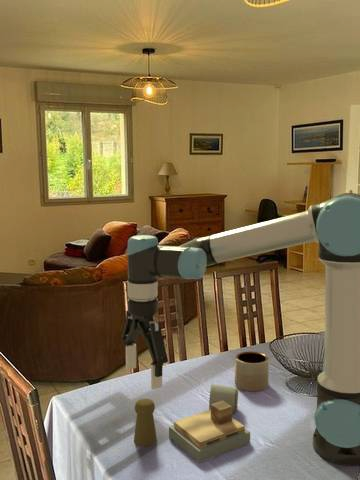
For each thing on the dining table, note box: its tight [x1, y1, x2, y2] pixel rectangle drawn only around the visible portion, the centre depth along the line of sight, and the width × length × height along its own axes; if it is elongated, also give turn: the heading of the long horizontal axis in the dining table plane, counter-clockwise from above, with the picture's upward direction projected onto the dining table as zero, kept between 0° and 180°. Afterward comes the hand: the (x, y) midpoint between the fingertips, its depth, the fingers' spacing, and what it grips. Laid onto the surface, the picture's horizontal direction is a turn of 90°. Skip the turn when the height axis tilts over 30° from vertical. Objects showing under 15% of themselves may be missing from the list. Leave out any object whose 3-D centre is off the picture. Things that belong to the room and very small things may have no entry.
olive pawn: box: [133, 398, 158, 448], centre depth 131 cm, size 6×6×11 cm
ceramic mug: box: [208, 383, 239, 414], centre depth 148 cm, size 11×8×8 cm
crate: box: [211, 401, 233, 425], centre depth 133 cm, size 4×4×4 cm
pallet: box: [173, 409, 246, 448], centre depth 131 cm, size 12×14×2 cm
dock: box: [168, 424, 251, 464], centre depth 132 cm, size 14×16×3 cm
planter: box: [234, 350, 270, 393], centre depth 163 cm, size 11×11×10 cm
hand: (143, 377), depth 129 cm, fingers open, 13 cm apart
